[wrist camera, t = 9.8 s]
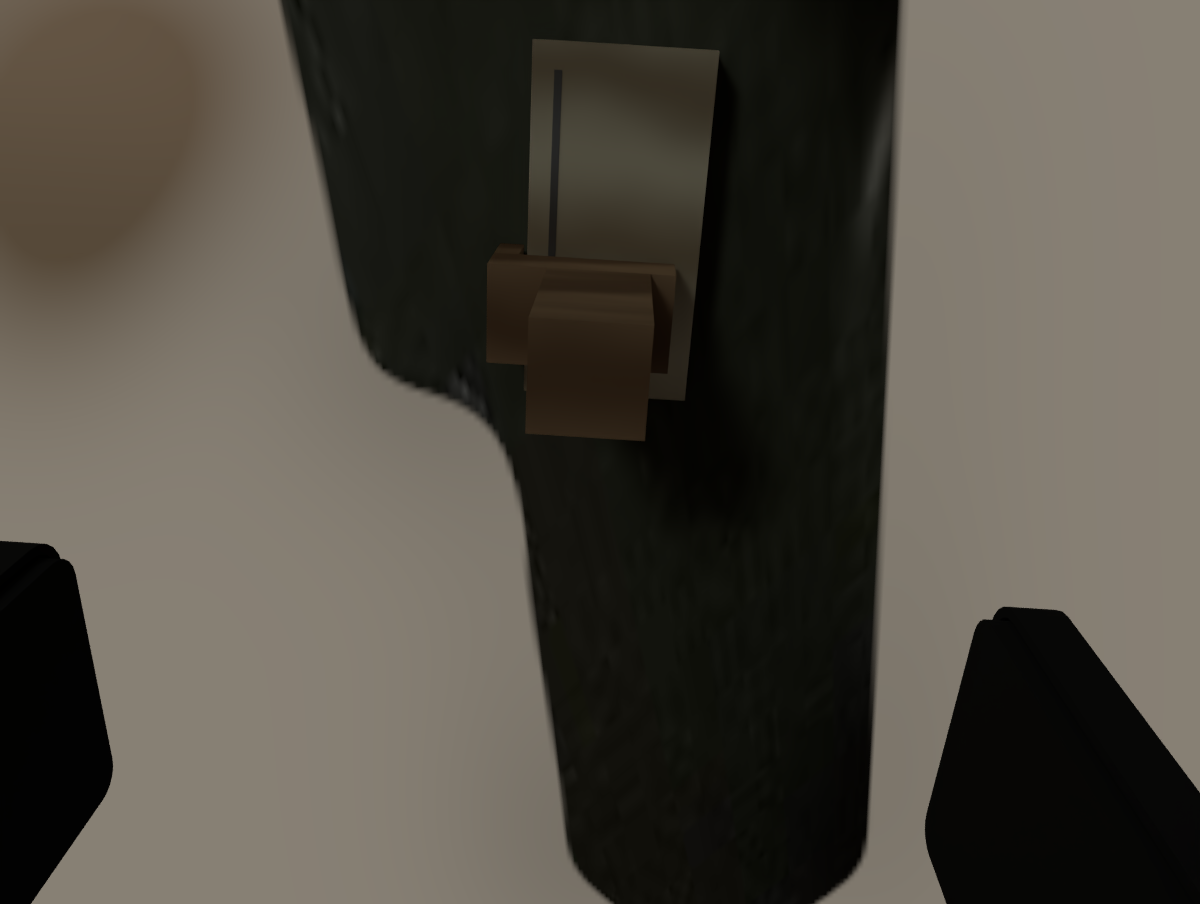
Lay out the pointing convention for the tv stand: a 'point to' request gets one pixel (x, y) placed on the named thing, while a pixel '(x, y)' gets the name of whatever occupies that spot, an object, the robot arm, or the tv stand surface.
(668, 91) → the board
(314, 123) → the tv stand surface
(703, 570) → the tv stand surface
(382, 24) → the tv stand surface
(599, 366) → the brown slider knob
